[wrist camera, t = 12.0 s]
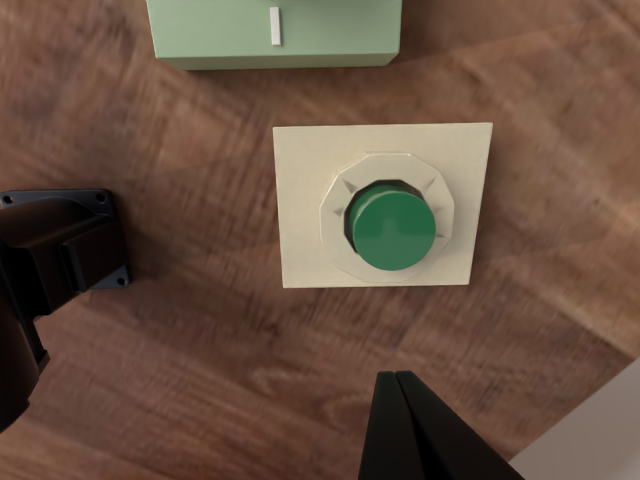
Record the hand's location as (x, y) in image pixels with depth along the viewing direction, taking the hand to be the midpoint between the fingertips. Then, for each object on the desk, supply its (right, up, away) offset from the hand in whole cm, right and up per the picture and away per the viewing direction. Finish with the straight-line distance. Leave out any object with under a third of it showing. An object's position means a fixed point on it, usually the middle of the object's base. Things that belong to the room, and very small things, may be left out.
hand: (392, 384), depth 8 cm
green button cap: (+1, +5, +8) cm, 9 cm away
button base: (+1, +6, +11) cm, 13 cm away
